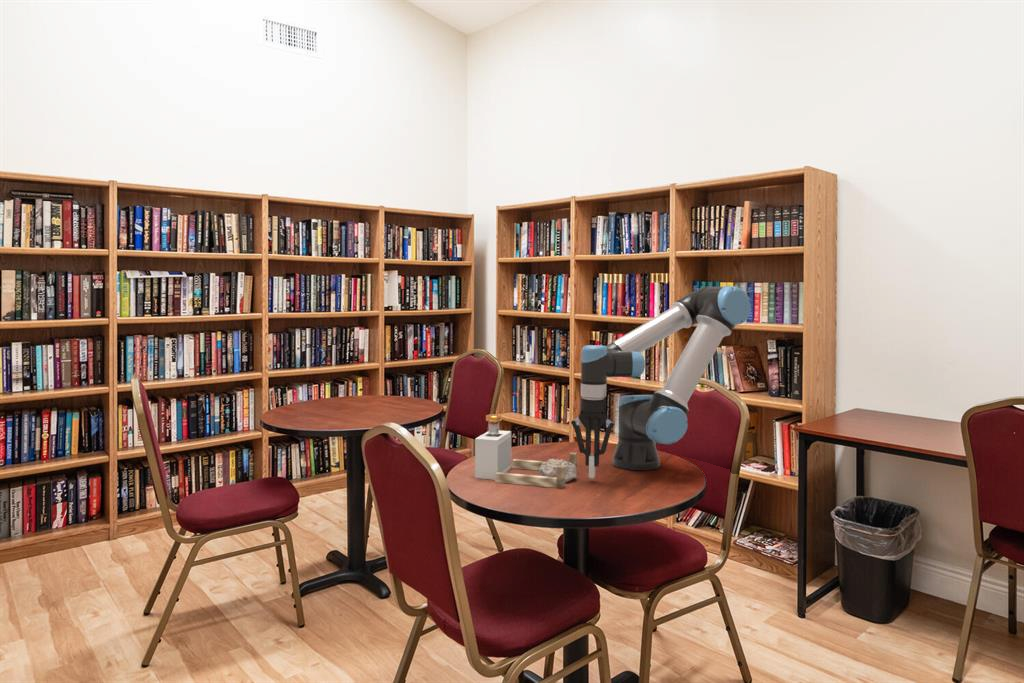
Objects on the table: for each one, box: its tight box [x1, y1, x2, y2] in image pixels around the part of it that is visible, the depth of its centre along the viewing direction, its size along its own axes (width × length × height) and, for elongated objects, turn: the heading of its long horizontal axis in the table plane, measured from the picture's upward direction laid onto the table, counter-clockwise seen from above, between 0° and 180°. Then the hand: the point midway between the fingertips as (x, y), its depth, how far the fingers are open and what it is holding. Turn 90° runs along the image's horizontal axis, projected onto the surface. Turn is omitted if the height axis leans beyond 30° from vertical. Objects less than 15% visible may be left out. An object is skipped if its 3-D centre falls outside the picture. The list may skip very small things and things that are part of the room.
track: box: [494, 452, 578, 489], centre depth 201 cm, size 20×19×6 cm
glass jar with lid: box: [485, 413, 503, 437], centre depth 204 cm, size 5×5×8 cm
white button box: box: [474, 429, 512, 481], centre depth 205 cm, size 7×14×12 cm, turn 163°
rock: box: [537, 458, 578, 483], centre depth 199 cm, size 11×11×6 cm
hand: (591, 476), depth 196 cm, fingers closed
